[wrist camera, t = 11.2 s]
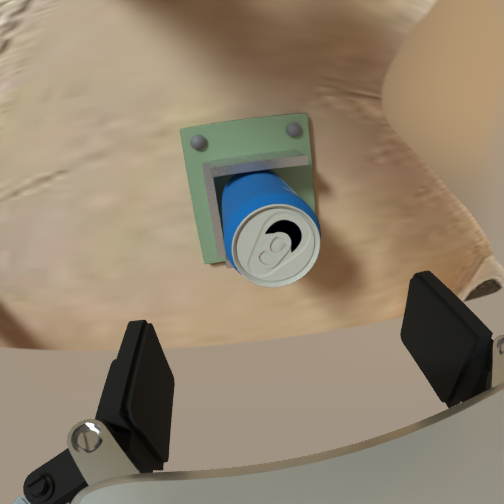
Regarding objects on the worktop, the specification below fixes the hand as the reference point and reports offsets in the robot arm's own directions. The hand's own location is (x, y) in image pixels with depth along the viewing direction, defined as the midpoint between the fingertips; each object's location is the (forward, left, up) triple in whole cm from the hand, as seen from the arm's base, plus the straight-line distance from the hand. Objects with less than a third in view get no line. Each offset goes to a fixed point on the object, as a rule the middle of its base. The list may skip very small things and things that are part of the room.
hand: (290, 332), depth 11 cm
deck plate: (0, +1, -22) cm, 22 cm away
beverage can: (+1, +1, -22) cm, 22 cm away
